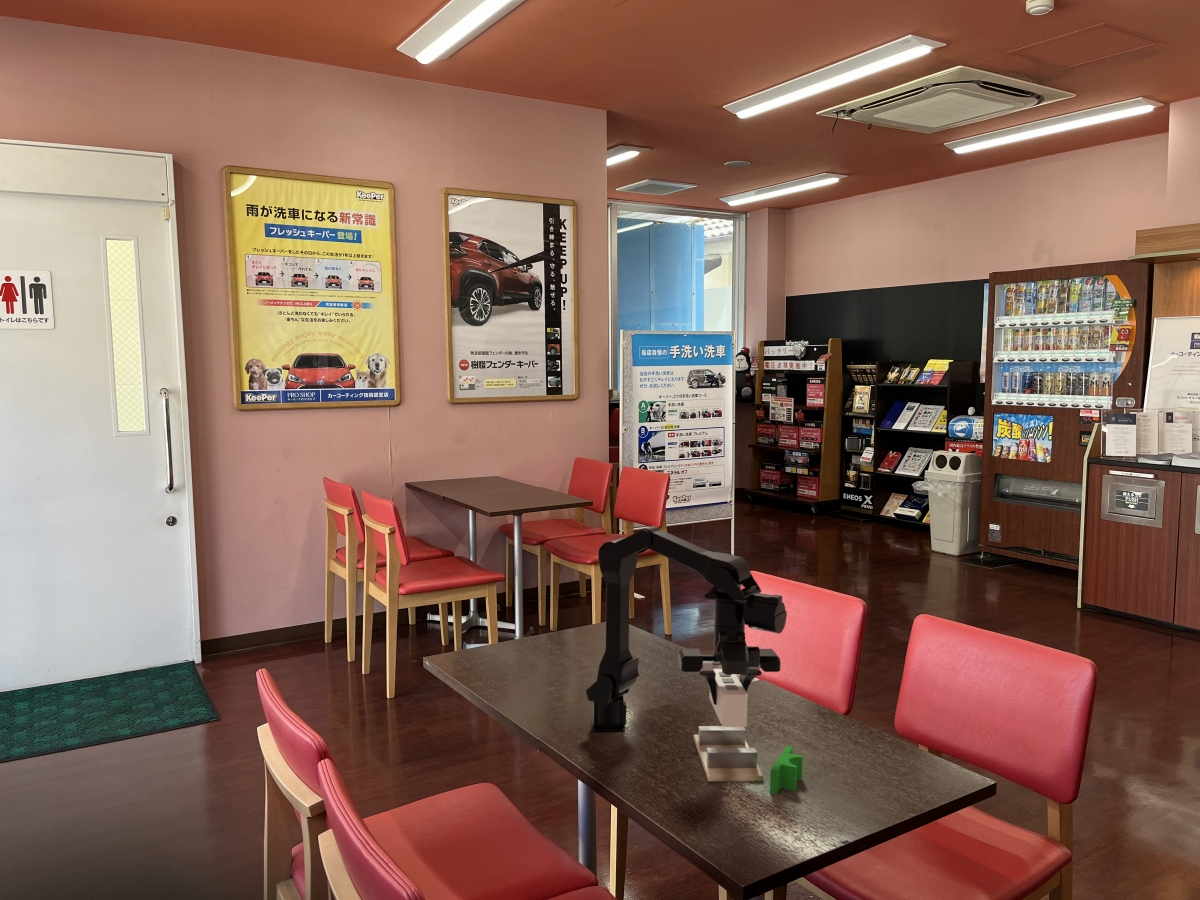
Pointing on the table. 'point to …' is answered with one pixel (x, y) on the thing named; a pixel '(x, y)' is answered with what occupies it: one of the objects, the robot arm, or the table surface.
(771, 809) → the table surface
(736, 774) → the stand
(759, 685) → the table surface
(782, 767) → the pipe clamp
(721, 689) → the power strip
